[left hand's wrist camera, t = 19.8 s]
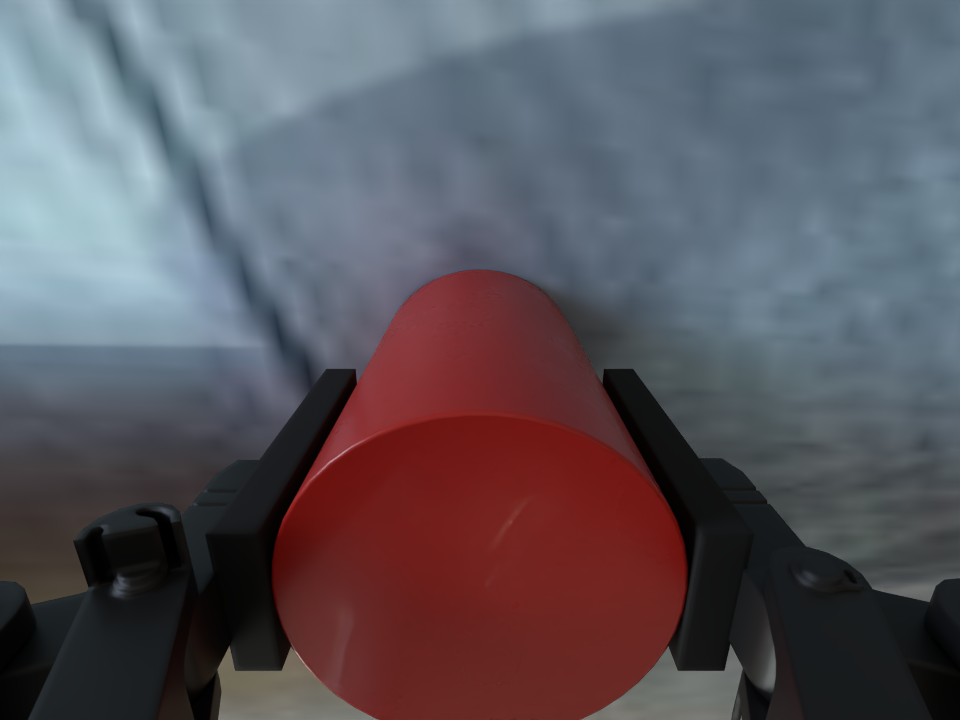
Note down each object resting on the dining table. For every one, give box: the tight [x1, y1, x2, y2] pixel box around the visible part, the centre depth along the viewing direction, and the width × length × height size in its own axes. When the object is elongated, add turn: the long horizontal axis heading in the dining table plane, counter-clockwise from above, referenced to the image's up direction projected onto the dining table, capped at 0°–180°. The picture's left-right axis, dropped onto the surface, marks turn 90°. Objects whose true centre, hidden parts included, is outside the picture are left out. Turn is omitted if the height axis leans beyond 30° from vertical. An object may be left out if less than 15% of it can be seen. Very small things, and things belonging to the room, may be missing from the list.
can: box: [272, 270, 688, 720], centre depth 13 cm, size 6×6×10 cm
